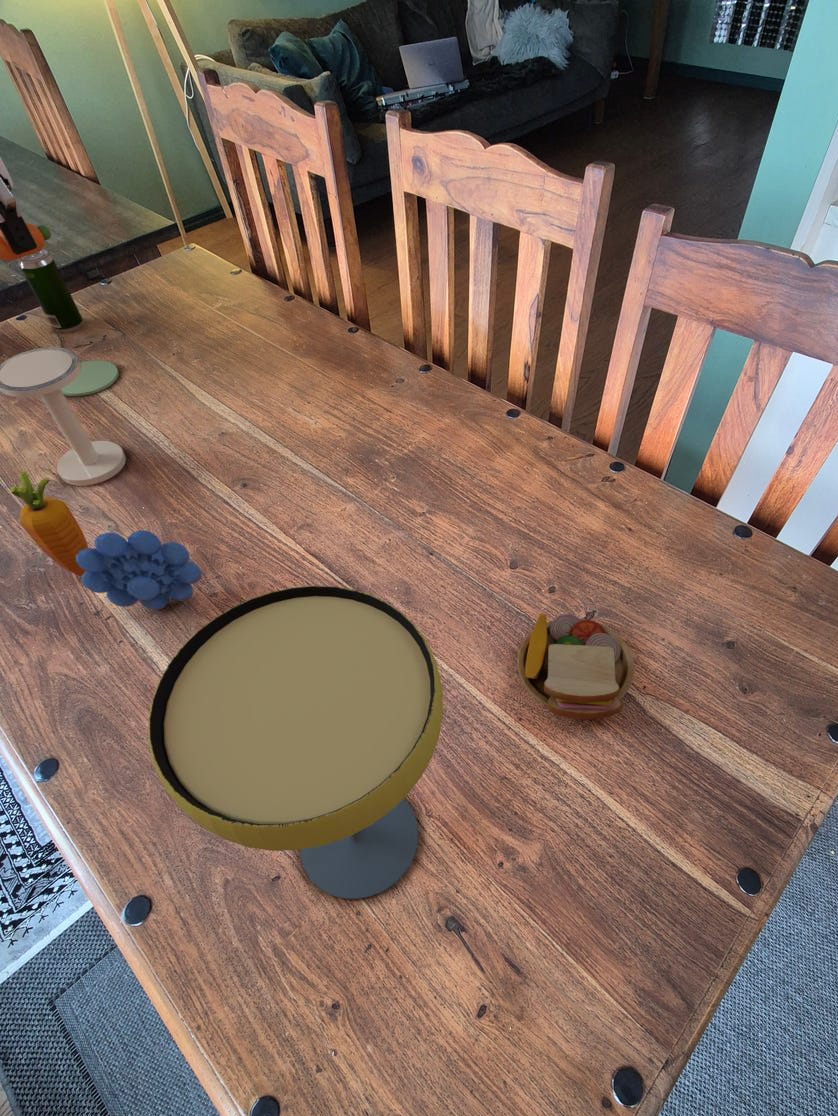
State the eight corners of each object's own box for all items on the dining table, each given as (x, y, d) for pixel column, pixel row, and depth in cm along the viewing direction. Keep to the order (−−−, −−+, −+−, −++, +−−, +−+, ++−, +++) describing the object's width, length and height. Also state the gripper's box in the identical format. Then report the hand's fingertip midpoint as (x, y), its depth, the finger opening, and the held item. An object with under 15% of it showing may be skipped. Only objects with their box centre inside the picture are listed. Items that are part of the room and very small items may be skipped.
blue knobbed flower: (113, 648, 75) (57, 576, 65) (109, 606, 78) (56, 532, 69) (217, 617, 77) (178, 543, 68) (208, 578, 81) (170, 502, 71)
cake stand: (43, 468, 95) (-22, 370, 83) (107, 435, 99) (54, 338, 87) (77, 498, 90) (14, 399, 79) (142, 463, 95) (92, 365, 83)
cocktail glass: (240, 945, 55) (98, 833, 35) (279, 751, 66) (188, 583, 46) (456, 943, 55) (435, 830, 35) (459, 749, 66) (445, 580, 46)
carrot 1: (4, 270, 92) (-8, 245, 89) (-11, 255, 92) (-23, 230, 89) (61, 250, 96) (52, 225, 92) (46, 235, 96) (36, 211, 93)
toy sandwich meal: (637, 634, 75) (644, 606, 71) (626, 737, 67) (634, 712, 63) (528, 616, 76) (530, 588, 73) (504, 714, 68) (505, 689, 65)
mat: (43, 381, 109) (41, 378, 108) (99, 356, 113) (98, 353, 113) (73, 403, 104) (71, 401, 104) (130, 377, 109) (128, 374, 108)
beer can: (74, 334, 118) (37, 263, 108) (47, 332, 118) (8, 261, 109) (90, 320, 121) (56, 249, 111) (64, 317, 122) (27, 247, 112)
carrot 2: (76, 562, 83) (7, 464, 71) (115, 562, 83) (52, 464, 71) (60, 591, 80) (-16, 494, 68) (100, 592, 80) (31, 495, 68)
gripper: (-130, 76, 80) (-33, 241, 95) (-77, 98, 73) (19, 273, 87) (-67, 62, 83) (18, 224, 98) (-10, 83, 76) (72, 253, 91)
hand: (18, 245), depth 92 cm, fingers closed on carrot 1, 3 cm apart
